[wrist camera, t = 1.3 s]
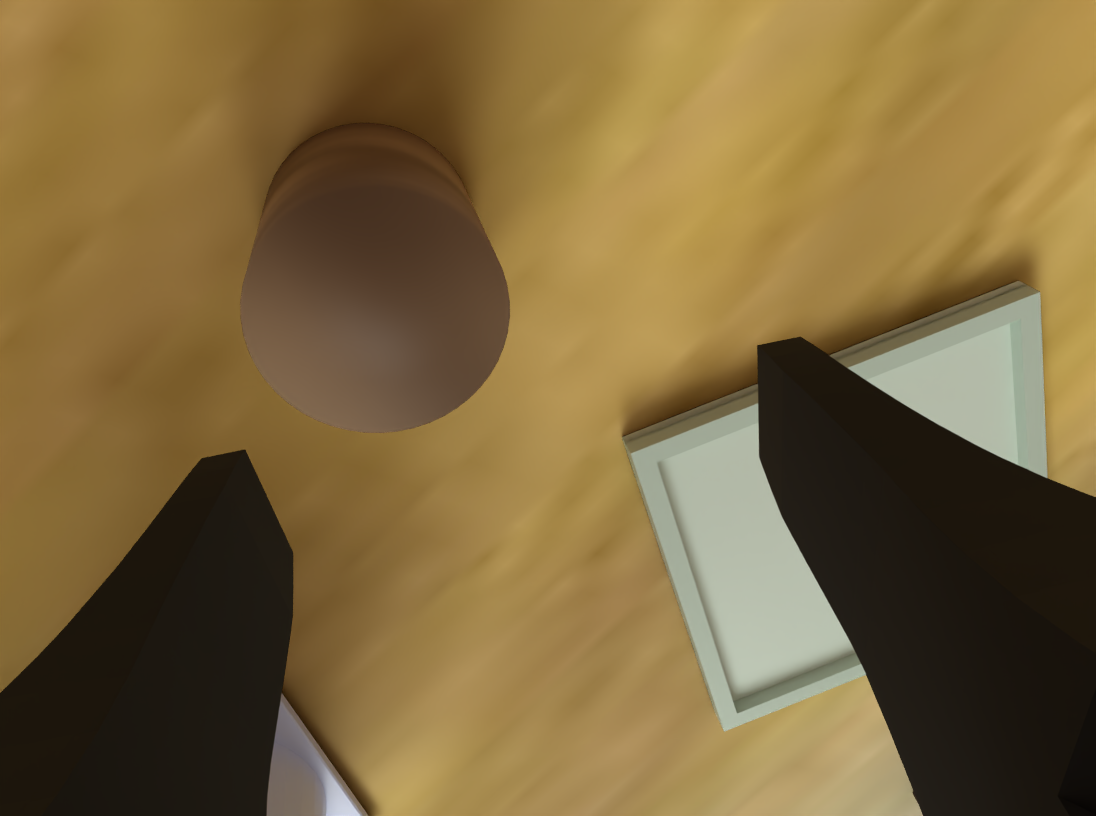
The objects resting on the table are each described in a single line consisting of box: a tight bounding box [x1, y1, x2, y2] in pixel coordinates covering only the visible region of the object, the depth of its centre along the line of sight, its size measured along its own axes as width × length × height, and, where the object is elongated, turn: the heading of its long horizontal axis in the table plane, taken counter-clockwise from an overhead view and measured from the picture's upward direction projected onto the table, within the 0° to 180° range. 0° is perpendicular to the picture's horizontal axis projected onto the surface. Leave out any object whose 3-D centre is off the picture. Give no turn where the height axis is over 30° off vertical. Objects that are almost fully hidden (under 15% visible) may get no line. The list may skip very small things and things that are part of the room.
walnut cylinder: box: [240, 123, 510, 433], centre depth 19 cm, size 5×5×6 cm
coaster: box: [622, 281, 1047, 731], centre depth 28 cm, size 12×12×1 cm
